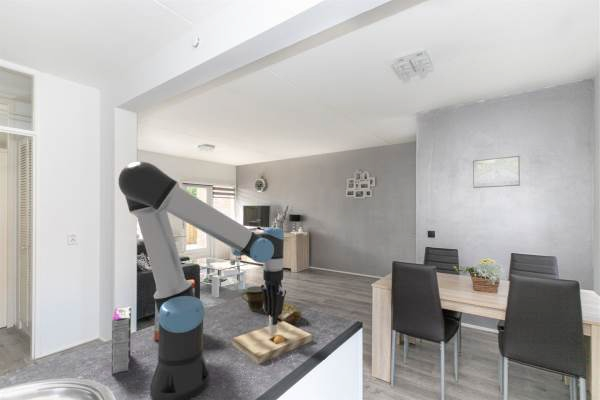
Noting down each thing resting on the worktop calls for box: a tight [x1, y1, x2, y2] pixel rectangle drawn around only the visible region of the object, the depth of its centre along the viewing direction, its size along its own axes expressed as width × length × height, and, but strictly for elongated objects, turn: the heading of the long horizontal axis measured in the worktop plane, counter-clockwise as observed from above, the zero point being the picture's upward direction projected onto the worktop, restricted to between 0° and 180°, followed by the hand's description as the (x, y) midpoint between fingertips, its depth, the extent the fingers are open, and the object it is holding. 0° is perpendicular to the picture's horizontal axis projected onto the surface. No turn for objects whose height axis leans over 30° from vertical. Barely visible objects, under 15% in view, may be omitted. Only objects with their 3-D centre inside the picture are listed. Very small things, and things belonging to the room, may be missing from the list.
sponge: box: [262, 301, 302, 324], centre depth 132 cm, size 13×8×20 cm
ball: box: [274, 335, 285, 344], centre depth 104 cm, size 4×4×4 cm
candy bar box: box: [111, 306, 132, 375], centre depth 92 cm, size 11×5×16 cm, turn 30°
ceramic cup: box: [240, 285, 264, 312], centre depth 142 cm, size 13×10×10 cm
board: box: [231, 320, 313, 365], centre depth 107 cm, size 24×17×2 cm
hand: (272, 332), depth 107 cm, fingers closed
